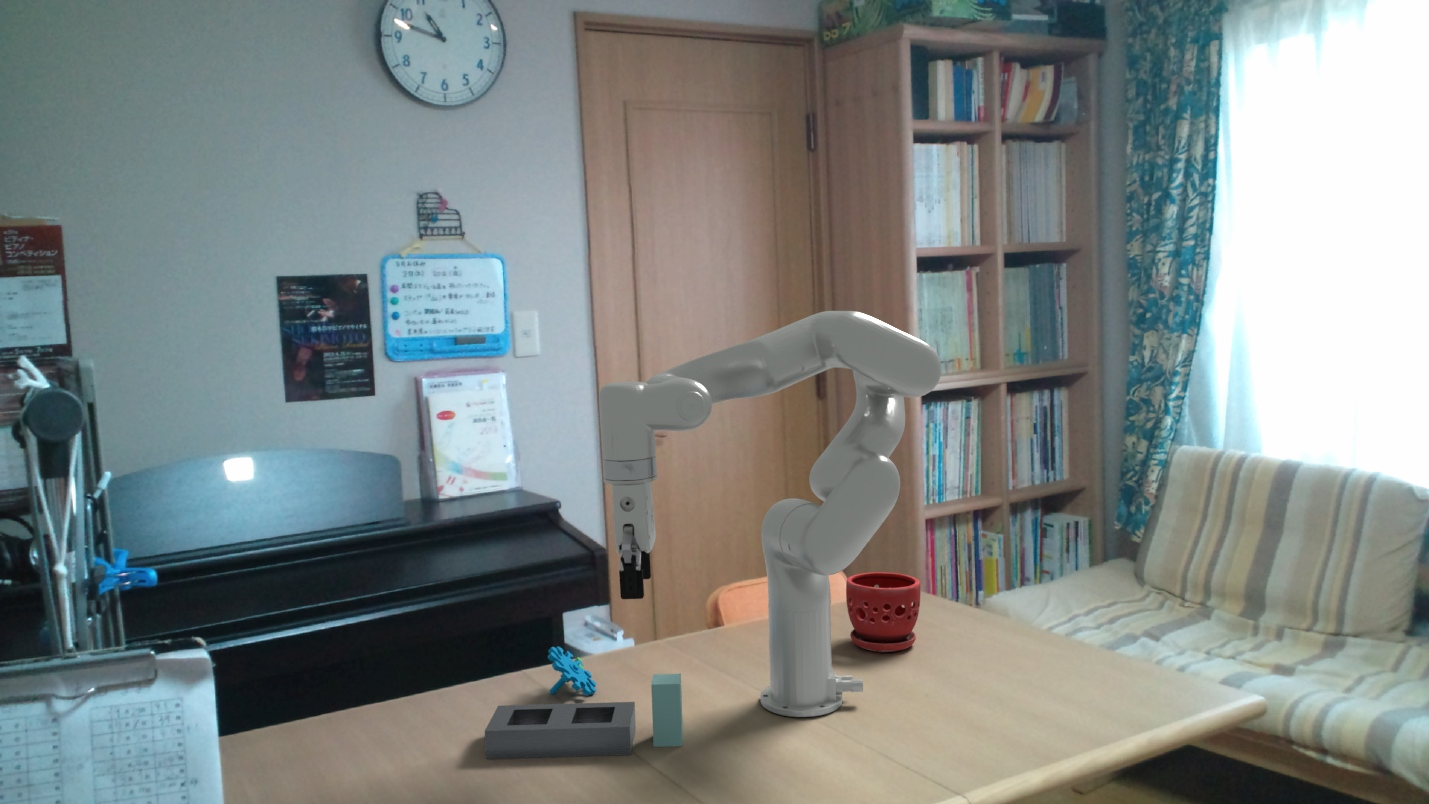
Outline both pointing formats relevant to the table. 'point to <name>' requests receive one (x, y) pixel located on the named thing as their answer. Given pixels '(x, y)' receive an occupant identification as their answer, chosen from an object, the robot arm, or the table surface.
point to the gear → (570, 672)
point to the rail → (561, 730)
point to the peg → (667, 710)
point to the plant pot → (883, 610)
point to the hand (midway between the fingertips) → (636, 588)
